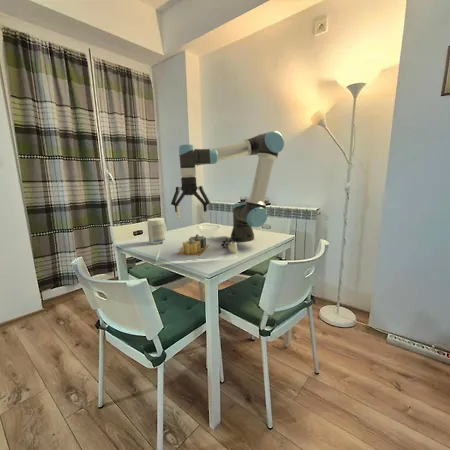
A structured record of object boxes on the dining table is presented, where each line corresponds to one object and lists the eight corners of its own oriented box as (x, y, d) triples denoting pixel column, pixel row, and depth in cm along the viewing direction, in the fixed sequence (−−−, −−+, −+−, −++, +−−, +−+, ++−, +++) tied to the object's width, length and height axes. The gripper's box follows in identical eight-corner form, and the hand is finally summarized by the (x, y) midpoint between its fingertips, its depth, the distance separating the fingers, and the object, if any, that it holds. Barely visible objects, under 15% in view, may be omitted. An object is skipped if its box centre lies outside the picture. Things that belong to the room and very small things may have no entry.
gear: (205, 243, 145) (204, 235, 144) (206, 248, 136) (206, 239, 135) (189, 245, 144) (188, 236, 143) (189, 249, 135) (189, 240, 134)
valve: (240, 255, 128) (232, 249, 139) (240, 243, 127) (232, 237, 138) (228, 257, 126) (221, 250, 137) (228, 244, 125) (220, 239, 136)
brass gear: (197, 255, 125) (196, 245, 124) (180, 254, 127) (179, 244, 126) (202, 249, 134) (202, 240, 133) (186, 249, 136) (186, 240, 135)
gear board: (210, 247, 144) (210, 232, 142) (199, 258, 125) (199, 241, 123) (190, 246, 146) (190, 232, 145) (177, 257, 127) (176, 241, 126)
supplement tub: (167, 241, 159) (166, 218, 157) (159, 245, 151) (158, 220, 148) (154, 240, 162) (152, 217, 159) (145, 244, 153) (143, 220, 150)
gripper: (214, 175, 128) (216, 216, 133) (168, 177, 133) (171, 216, 138) (210, 175, 121) (212, 219, 126) (162, 177, 126) (166, 219, 130)
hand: (191, 218), depth 132 cm, fingers open, 13 cm apart
